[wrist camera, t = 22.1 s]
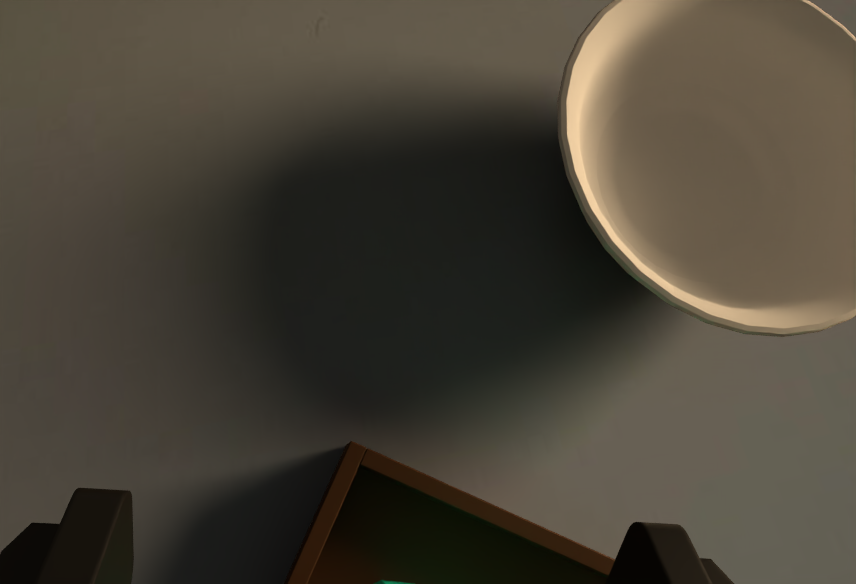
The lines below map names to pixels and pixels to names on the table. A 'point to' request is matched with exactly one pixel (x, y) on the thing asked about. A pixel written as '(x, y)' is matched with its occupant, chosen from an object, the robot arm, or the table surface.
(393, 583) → the candle
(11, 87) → the table surface
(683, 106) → the bowl
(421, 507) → the tray
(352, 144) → the table surface
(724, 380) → the table surface
